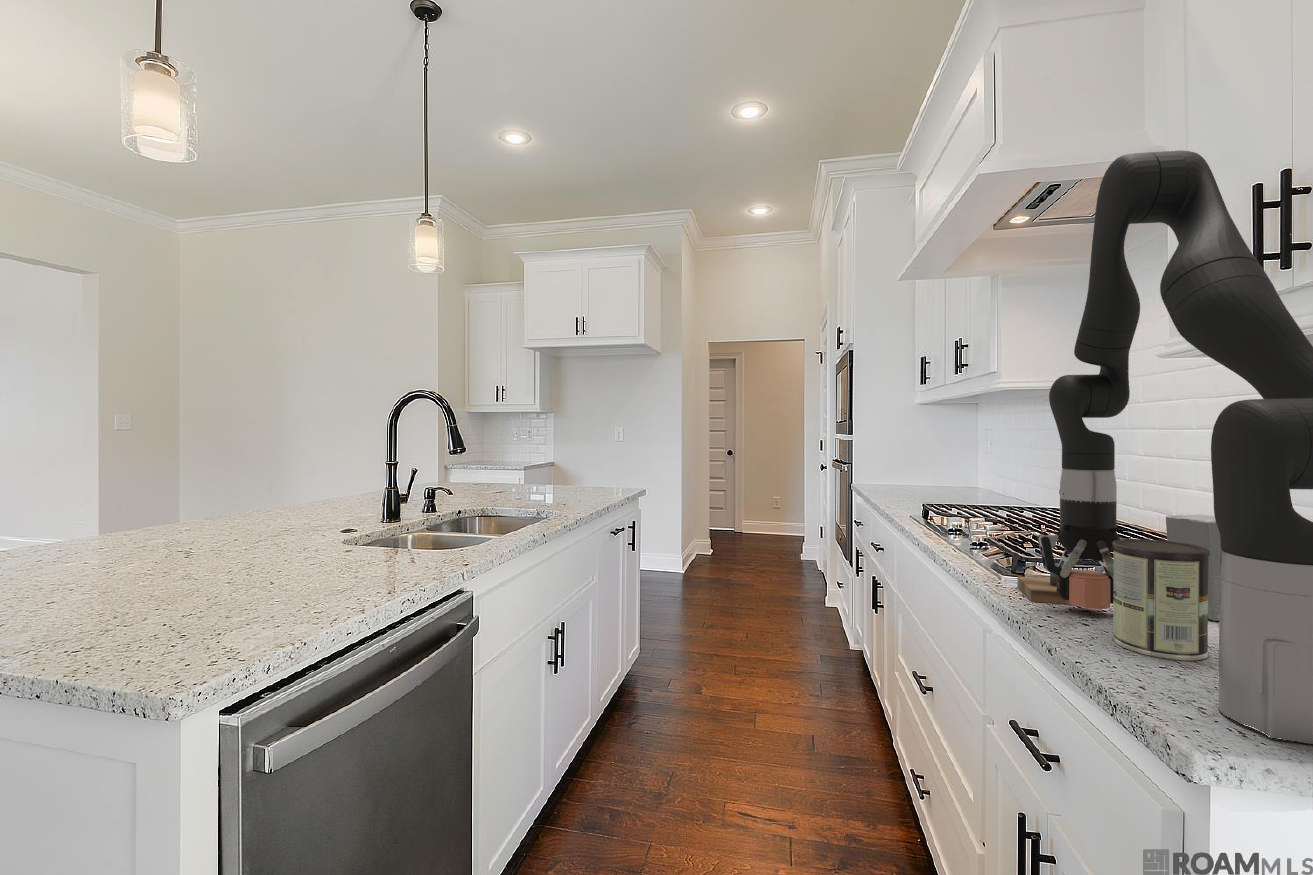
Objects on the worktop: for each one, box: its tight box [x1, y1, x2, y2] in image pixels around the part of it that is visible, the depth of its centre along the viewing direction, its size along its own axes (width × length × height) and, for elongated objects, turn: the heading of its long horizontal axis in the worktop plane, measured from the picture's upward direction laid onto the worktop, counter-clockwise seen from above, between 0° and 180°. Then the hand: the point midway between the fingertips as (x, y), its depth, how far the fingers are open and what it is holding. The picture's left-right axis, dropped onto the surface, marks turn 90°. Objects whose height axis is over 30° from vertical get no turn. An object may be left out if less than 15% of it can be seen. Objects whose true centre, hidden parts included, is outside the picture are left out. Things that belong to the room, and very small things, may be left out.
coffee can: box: [1112, 538, 1210, 662], centre depth 84 cm, size 10×10×14 cm
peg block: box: [1016, 562, 1071, 605], centre depth 108 cm, size 10×10×6 cm
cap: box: [1065, 568, 1111, 610], centre depth 99 cm, size 6×6×5 cm
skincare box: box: [1165, 514, 1221, 622], centre depth 98 cm, size 8×7×16 cm
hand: (1087, 600), depth 99 cm, fingers closed on cap, 5 cm apart
